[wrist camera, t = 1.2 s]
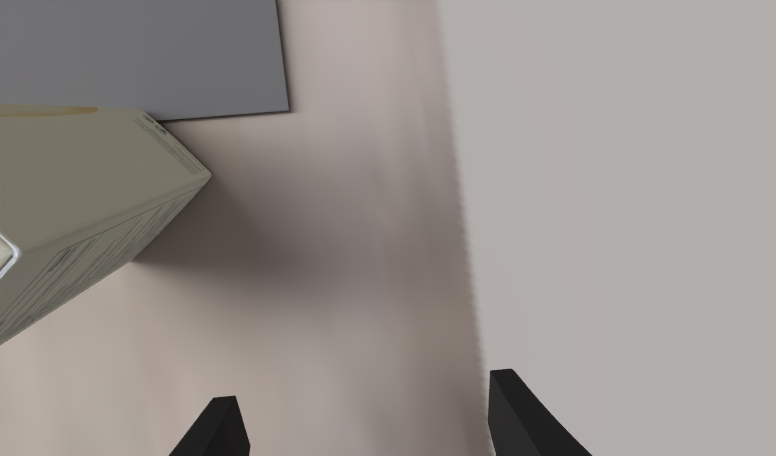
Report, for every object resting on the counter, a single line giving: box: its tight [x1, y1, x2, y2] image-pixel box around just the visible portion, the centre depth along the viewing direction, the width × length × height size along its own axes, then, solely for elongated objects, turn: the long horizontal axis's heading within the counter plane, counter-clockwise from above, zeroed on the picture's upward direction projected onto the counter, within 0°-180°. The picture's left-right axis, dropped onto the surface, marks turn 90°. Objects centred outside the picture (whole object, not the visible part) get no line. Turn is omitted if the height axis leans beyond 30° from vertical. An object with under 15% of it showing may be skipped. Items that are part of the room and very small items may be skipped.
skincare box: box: [0, 103, 212, 345], centre depth 14 cm, size 6×4×12 cm
